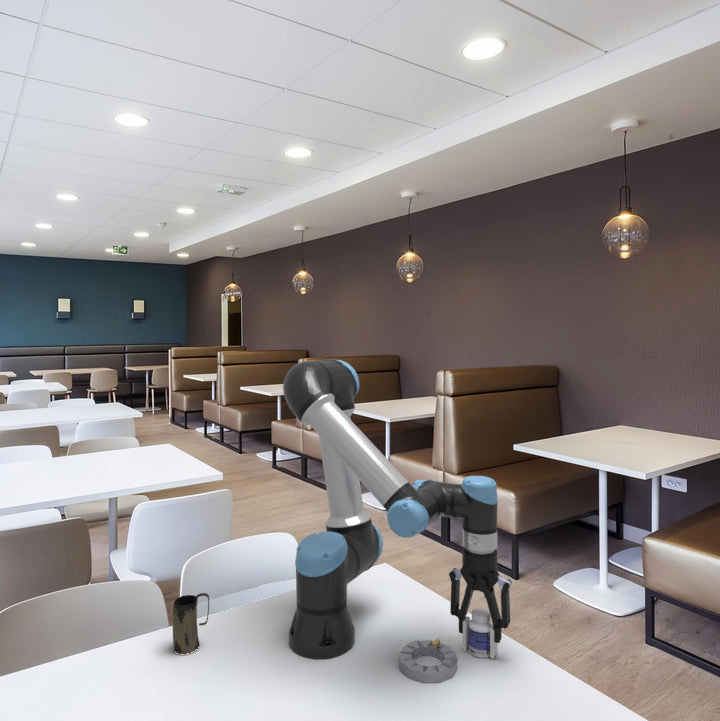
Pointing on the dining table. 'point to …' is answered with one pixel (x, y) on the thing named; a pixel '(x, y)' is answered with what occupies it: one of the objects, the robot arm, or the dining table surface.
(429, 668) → the hub
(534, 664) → the dining table surface
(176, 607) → the mug
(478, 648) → the pill bottle
